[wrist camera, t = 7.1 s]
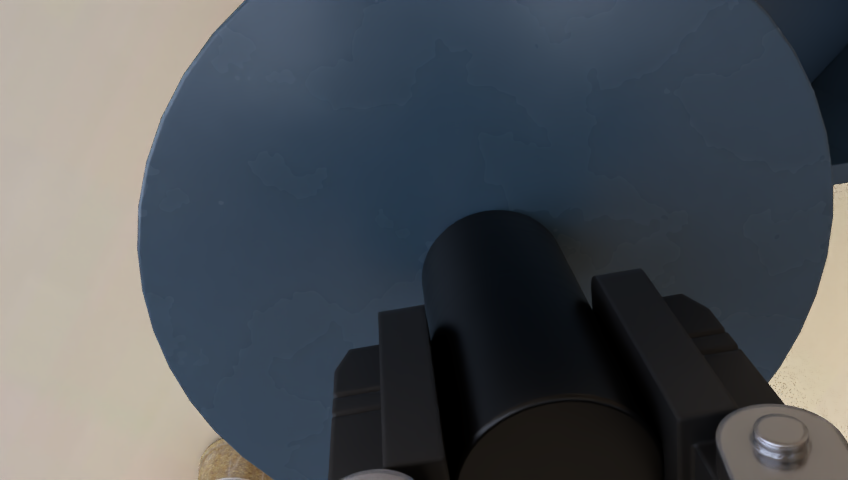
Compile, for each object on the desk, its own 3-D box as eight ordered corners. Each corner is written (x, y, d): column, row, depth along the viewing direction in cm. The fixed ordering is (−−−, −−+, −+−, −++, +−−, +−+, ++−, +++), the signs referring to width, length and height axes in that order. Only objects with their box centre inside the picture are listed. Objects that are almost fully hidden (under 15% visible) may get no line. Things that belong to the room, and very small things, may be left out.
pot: (529, -125, 30) (576, -125, 24) (965, -197, 30) (1136, -217, 24) (552, 157, 35) (596, 224, 29) (927, 95, 35) (1060, 148, 29)
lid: (53, -35, 13) (-228, 50, 7) (821, -166, 13) (1233, -202, 7) (247, 535, 18) (187, 866, 12) (788, 444, 18) (1000, 731, 12)
